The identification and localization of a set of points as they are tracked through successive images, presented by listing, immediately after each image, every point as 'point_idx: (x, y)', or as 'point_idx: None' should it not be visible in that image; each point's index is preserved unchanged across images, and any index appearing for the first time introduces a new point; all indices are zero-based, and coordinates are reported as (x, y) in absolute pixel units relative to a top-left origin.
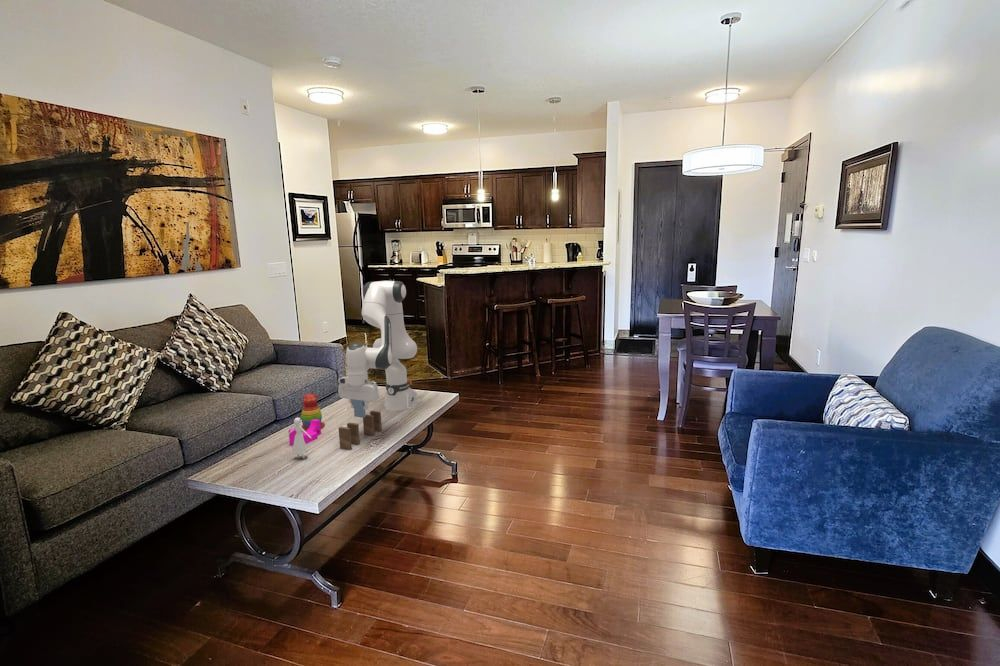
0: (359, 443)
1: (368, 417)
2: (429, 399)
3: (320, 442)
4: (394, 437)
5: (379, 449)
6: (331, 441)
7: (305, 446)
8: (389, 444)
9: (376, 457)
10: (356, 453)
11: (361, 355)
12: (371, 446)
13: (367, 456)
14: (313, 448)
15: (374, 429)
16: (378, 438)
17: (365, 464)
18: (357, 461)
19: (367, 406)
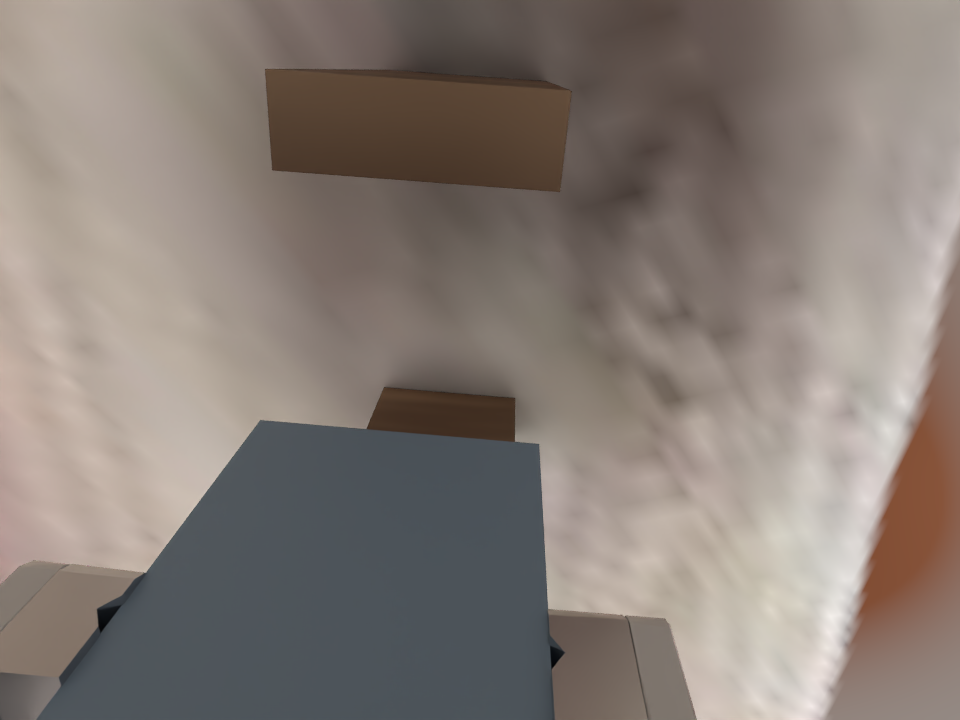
0: (514, 410)
1: (462, 179)
2: None
3: (51, 447)
4: (891, 44)
5: (812, 448)
6: (135, 398)
7: None
8: (891, 299)
9: (853, 599)
10: (605, 571)
11: None
12: (678, 403)
13: (750, 599)
14: (123, 568)
15: (551, 83)
16: (649, 157)
17: (803, 710)
18: (703, 683)
19: (686, 713)
